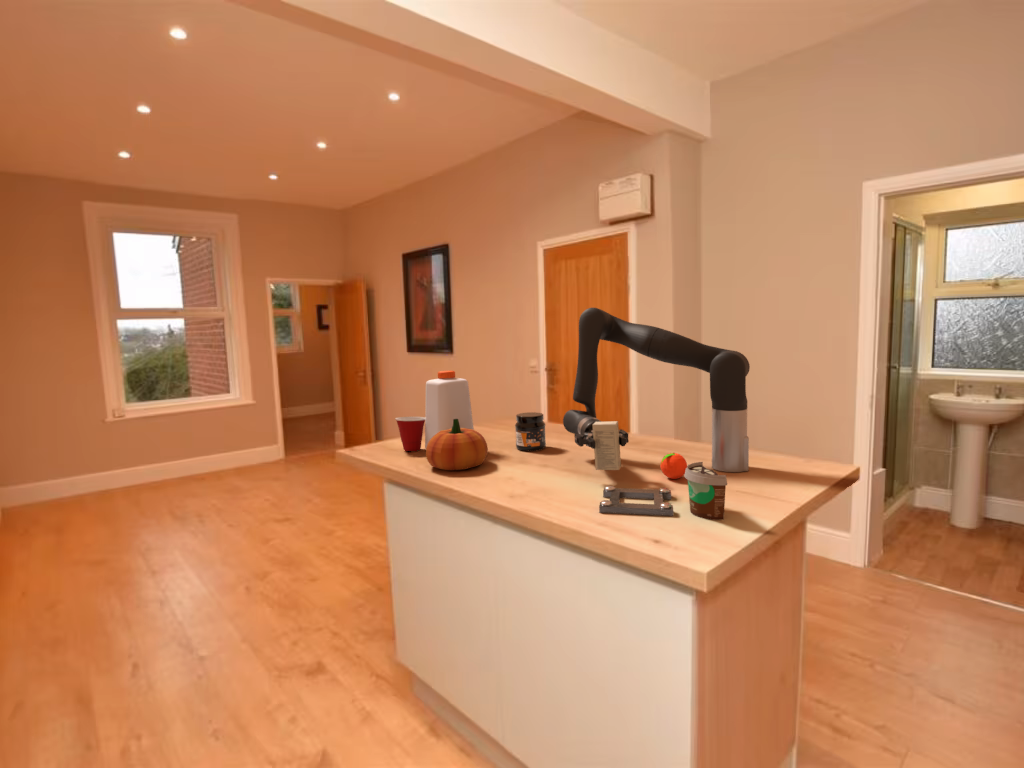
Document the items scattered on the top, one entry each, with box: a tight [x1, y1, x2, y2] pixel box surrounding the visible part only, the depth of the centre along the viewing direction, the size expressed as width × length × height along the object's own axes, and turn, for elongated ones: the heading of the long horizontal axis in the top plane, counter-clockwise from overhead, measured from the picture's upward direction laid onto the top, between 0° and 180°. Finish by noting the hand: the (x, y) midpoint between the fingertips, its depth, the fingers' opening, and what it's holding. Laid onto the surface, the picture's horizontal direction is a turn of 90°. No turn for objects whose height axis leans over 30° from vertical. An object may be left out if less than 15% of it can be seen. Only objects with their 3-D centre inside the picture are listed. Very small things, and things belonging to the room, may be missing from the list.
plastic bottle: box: [424, 370, 475, 450], centre depth 187 cm, size 15×15×28 cm
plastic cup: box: [394, 416, 425, 452], centre depth 191 cm, size 11×11×12 cm
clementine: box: [659, 452, 688, 480], centre depth 144 cm, size 8×7×7 cm
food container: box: [683, 461, 728, 521], centre depth 118 cm, size 12×6×10 cm, turn 5°
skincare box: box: [593, 420, 622, 471], centre depth 140 cm, size 6×4×12 cm
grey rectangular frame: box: [598, 485, 674, 517], centre depth 125 cm, size 16×14×2 cm
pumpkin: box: [425, 419, 489, 471], centre depth 166 cm, size 19×19×15 cm
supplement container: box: [514, 411, 547, 452], centre depth 186 cm, size 10×10×12 cm
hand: (609, 443), depth 137 cm, fingers closed on skincare box, 7 cm apart
